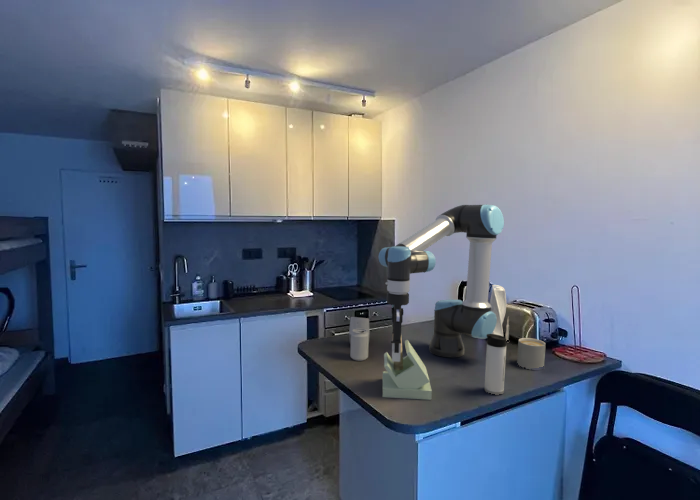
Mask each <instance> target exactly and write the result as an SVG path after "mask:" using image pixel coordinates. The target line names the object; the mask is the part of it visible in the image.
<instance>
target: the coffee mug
mask: <svg viewBox="0 0 700 500" xmlns="http://www.w3.org/2000/svg"><path fill="white" fill-rule="evenodd" d="M545 358H546V342H544V341H542V340H540V339H537V338H531V337H522V338H519V339H518V343H517V358H516V364H517V363H518V364H519V365H521V366H524V367H530V368H539V367H543V366H544V367H545V361H546V360H545Z"/></svg>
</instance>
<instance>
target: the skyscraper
mask: <svg viewBox="0 0 700 500" xmlns="http://www.w3.org/2000/svg"><path fill="white" fill-rule="evenodd" d="M491 286H492V290H491V294H490V299H489V300H490V301H489V304H490V305H491V312H493V313H494V314H495V315H496V318H497V322H496V326H495V329H494V331H493V332H492V334H496V335H500V336H503V337H504V338H506V339H507V340H509V338H510V333H509V331H510V325H509V324H510V323H509V322H510V319H509V317H510V316H507V319H506V325H505V334H504V331H503V323H504V319H505V316H506V311H507V295H506V289H505V288H504V287H503V286H501V285H498V284H492V285H491ZM504 335H505V336H504Z"/></svg>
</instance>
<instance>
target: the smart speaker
mask: <svg viewBox="0 0 700 500" xmlns="http://www.w3.org/2000/svg"><path fill="white" fill-rule="evenodd" d="M353 329H366V330H367V333H368V334H369V341H370V337H371V336H370V335H371V334H370V333H371V332H370V318H368V317H367V318H366V317H357V316H350V320H349V329H348V330H349V331H348V341H349V344H350V345H351V333H352V332H353V331H352V330H353Z"/></svg>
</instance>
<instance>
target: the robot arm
mask: <svg viewBox="0 0 700 500" xmlns="http://www.w3.org/2000/svg"><path fill="white" fill-rule="evenodd" d="M504 226H505V219H504V215H503V212H502V211H501V209H500V208H499V207H498V206H497V205H493V204H461V205H458V206H457V205H456V206H454V207H453V208H450V209H448V210H446V211H444V212H443V213H441V214H440V215H438V216H437V217H436V218H435V220H434V221H432V222H431V223H429V224H428V225H426V226H425V227H423V228H421V229H420V230H419V231H417V232H415V233H413V234H412V235H410V236H409V237H407V238H406V239H404V240H402V241H401V242H399V243H397V244H395V246H388V247H383V248H381V249H380V251H379V253H378V261H379V264H380V265H381V266H383V267H384V268H385V267H386V268H387V273H386V275H387V277H386V278H387V280H386V282H385V285H387V286H386V290H387V293H386V303H387V304H388V305H391V306H392V307H391V322H392V333H391V335H392V334H393V341H392V340H391V341H390V344H391V359H392V361H393V362H394V361H395V362H400V349H401V338H402V339H403V336H402V323H403V321H404V320H403V316H404V308H402V306H407V305H408V304H409V303H410V294H409V292H410V288H411V287H410V286H411V285H410V282H411V279H410V278H411V277H410V275H411V274H420V273H428V272H431V271H432V270H434V268H435V266H436V263H437V262H436V260H437V259H436V256H435V255H434V254H433V252H432V251H428V250H427V249H428V248H429V247H431V246H432V245H434V244H435V243H437V242H438V241H441V240H442V239H443V238H445V237H450V236H452V235H453V234H457V233H466V236H465V237H466V239H467V240H468V241H469V249H468V260H467V261H468V263H467V264H468V265H467V275H466V276H467V278H466V279H467V280H466V293H465V300H461V299H441V300H440V299H439V300H438V301H436V303H434V305H435V306H434V316H433V317H434V318H433V319H434V320H433V322H434V323H433V335H432V338H431V340H430V343H429V345H428V347H429V348H428V351H429V352H430V353H431V354H433V355H435V356H438V357H444V358H460V357H462V356H464V355H465V345H464V343H463V339H462V338H463V337H462V334H463V335H467V336H469V337H472V338H473V339H480V340H486V339H487V334H492V332H493V331H494V329H495V326H496V322H497V318H496V315H495V314H494V313H493V312H491V305H490V302H489V301H488V300H489V288H490V277H491V276H490V275H491V264H492V263H491V261H492V247H493V243H494V242H495V241H496V240H497V236H498V235H499V234H500V235H501V233H502V232H503V229H504ZM392 343H393V344H392Z"/></svg>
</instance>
